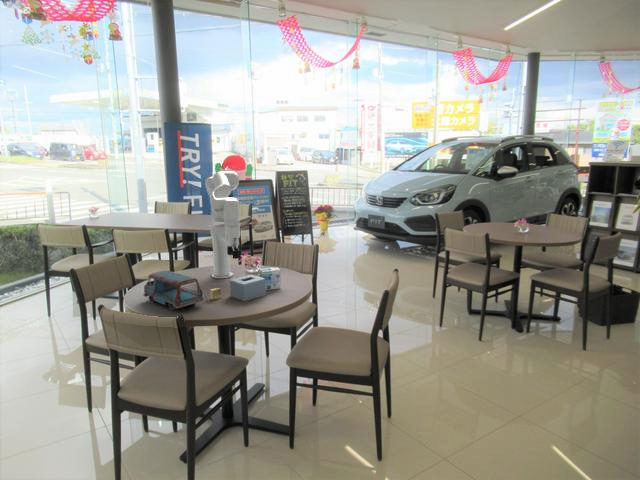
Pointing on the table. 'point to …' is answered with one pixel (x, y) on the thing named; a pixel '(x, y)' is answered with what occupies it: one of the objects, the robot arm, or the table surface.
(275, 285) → the light bulb box
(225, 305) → the table surface
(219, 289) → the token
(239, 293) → the box
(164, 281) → the toy van
